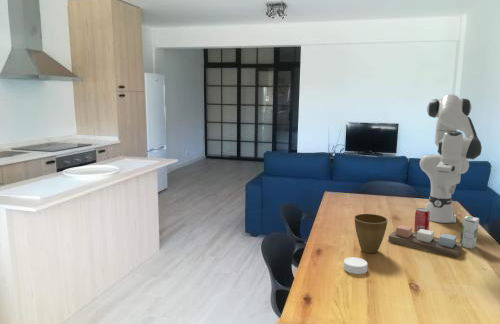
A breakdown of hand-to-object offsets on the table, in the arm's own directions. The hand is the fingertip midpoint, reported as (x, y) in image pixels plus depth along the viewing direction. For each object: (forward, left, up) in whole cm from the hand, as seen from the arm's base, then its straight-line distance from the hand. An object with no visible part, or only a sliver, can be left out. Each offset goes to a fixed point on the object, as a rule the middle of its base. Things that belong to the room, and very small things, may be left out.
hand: (447, 194), depth 179 cm
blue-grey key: (+2, +2, -24) cm, 24 cm away
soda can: (-15, -14, -27) cm, 34 cm away
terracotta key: (+2, -18, -24) cm, 30 cm away
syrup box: (-10, +9, -27) cm, 30 cm away
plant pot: (+26, -27, -27) cm, 46 cm away
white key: (+2, -8, -24) cm, 25 cm away
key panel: (+2, -8, -27) cm, 28 cm away
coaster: (+49, -24, -27) cm, 61 cm away
